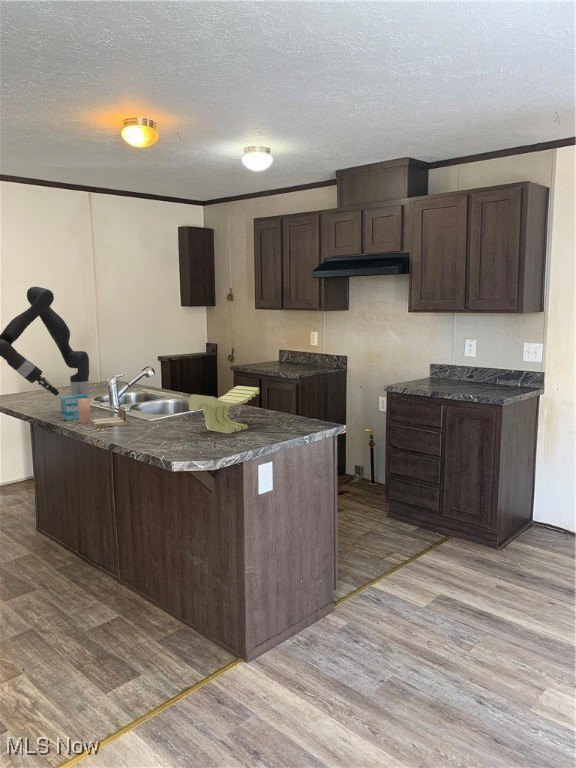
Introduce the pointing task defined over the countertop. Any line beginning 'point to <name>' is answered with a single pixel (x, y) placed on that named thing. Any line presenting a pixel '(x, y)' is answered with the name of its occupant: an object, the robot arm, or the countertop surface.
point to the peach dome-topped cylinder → (84, 410)
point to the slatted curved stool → (222, 408)
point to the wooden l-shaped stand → (112, 420)
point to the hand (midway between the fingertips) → (57, 393)
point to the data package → (70, 407)
